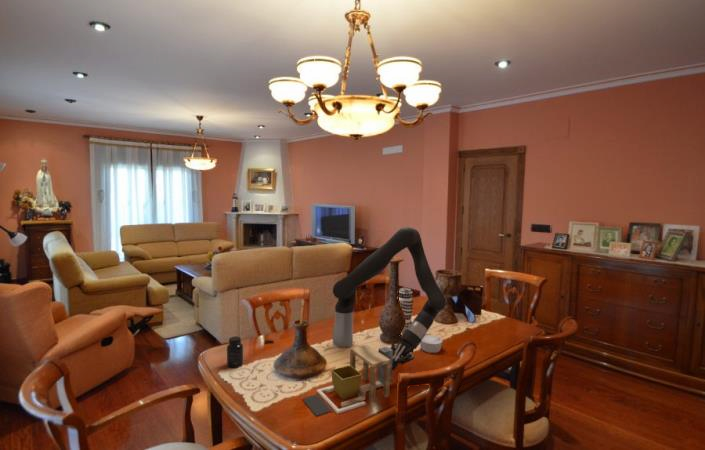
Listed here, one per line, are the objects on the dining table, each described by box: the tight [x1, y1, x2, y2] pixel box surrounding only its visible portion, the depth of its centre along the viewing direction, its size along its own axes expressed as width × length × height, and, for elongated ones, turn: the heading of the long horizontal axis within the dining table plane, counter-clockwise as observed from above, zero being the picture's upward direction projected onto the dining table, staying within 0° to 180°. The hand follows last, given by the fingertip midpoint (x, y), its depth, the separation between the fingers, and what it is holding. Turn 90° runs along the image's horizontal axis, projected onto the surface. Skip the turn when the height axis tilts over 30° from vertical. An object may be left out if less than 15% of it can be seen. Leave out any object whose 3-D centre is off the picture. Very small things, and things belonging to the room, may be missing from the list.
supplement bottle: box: [226, 336, 244, 369], centre depth 163 cm, size 7×7×12 cm
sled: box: [326, 346, 393, 408], centre depth 144 cm, size 25×12×14 cm, turn 121°
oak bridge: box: [349, 344, 391, 403], centre depth 145 cm, size 8×16×14 cm, turn 31°
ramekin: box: [419, 334, 443, 354], centre depth 185 cm, size 11×11×5 cm
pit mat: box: [301, 393, 333, 417], centre depth 134 cm, size 6×12×1 cm, turn 31°
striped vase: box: [399, 287, 414, 335], centre depth 204 cm, size 9×9×25 cm
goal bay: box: [316, 384, 366, 415], centre depth 139 cm, size 12×16×1 cm
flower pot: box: [330, 364, 363, 400], centre depth 141 cm, size 9×9×9 cm
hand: (389, 369), depth 151 cm, fingers closed
